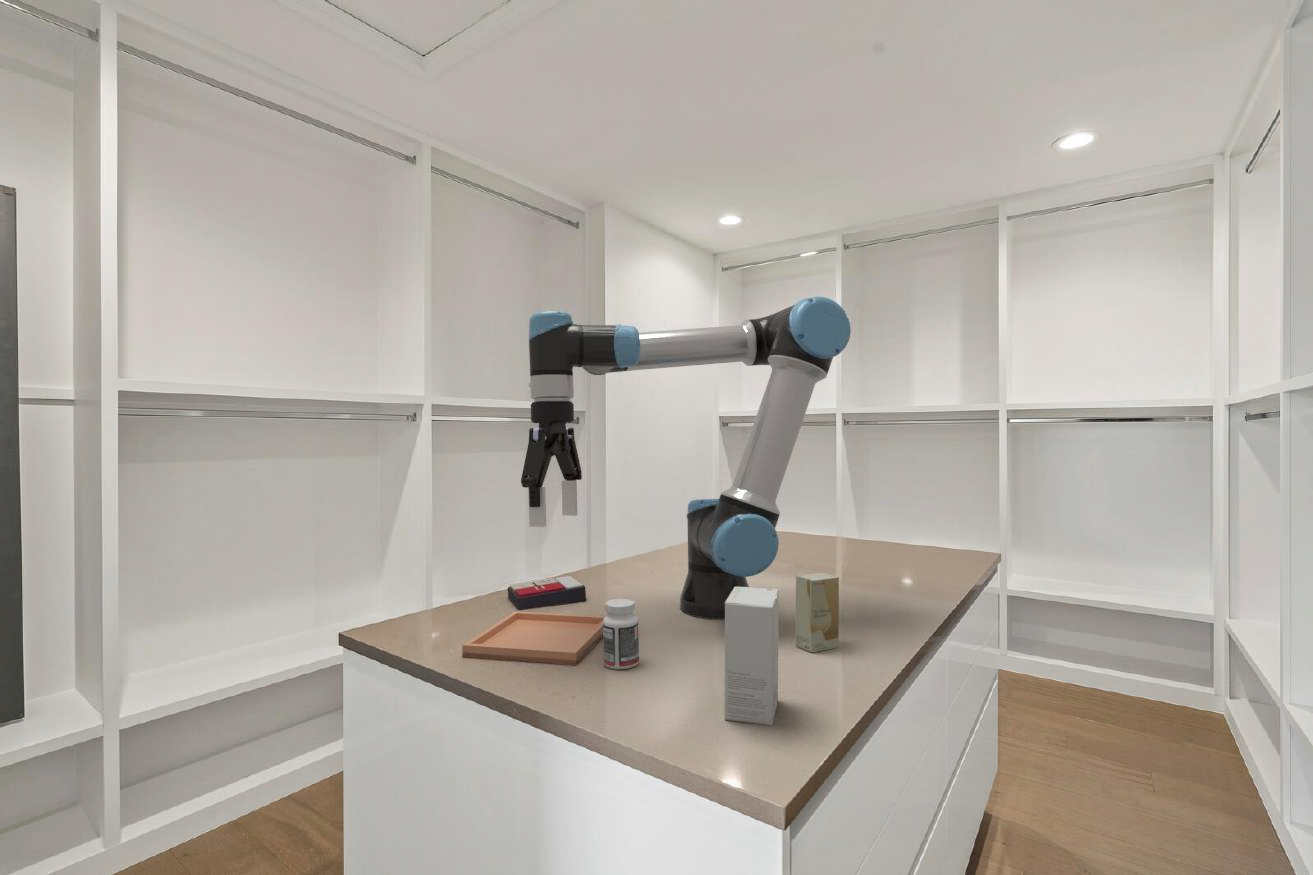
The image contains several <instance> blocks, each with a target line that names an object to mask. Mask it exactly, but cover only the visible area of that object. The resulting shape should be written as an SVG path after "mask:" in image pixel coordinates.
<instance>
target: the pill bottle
mask: <svg viewBox="0 0 1313 875" xmlns="http://www.w3.org/2000/svg"><path fill="white" fill-rule="evenodd" d="M635 606H636V603H635V601H634V600H633V599H629V598H614V599H609V600H607V601H606V602H605V612H606V613H607V614H606V615H604V616H605V617H604V619H603V637H602V638H603V640H602V642H603V643H602V644H603V650H602V651H603V664H604V665H605V667H607V668H608V669H612V670H629V669H632V668H634V667H636V666H638V665H639V662H640V640H639V638H640V637H639V635H640V634H639V633H640V632H639V619H638V616H637V615H636V614H635V613H634V611H635V610H636V607H635Z"/></svg>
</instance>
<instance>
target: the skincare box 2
mask: <svg viewBox="0 0 1313 875" xmlns="http://www.w3.org/2000/svg"><path fill="white" fill-rule="evenodd" d="M839 584H840V577H839V576H835V575H832V574H829V573H826V572H818V573H817V572H816V573H807V574H801V575H799V574H798V575H796V576H795V588H796V589H795V646H797V647H799V648H801V649H803V650H806V651H808V652H809V653H815V652H820V651H826V650H827V651H828V650H830V649H831V650H833V649H838V648H839V641H840V640H839V638H840V637H839V634H840V633H839V624H840V623H839V613H840V610H839V608H840V607H839V605H840V596H839V595H840V593H839V591H840V587H839V586H840V585H839Z"/></svg>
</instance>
